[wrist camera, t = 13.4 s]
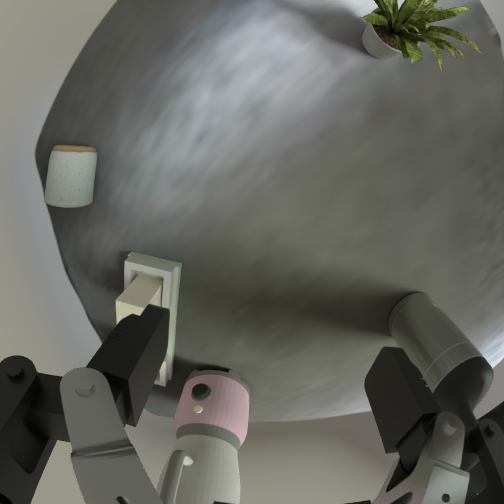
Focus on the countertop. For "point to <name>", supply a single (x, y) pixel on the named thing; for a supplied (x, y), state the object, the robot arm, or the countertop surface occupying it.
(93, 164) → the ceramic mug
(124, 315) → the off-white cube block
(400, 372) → the robot arm
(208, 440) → the blender
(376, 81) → the countertop surface
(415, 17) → the house plant
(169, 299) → the rail
